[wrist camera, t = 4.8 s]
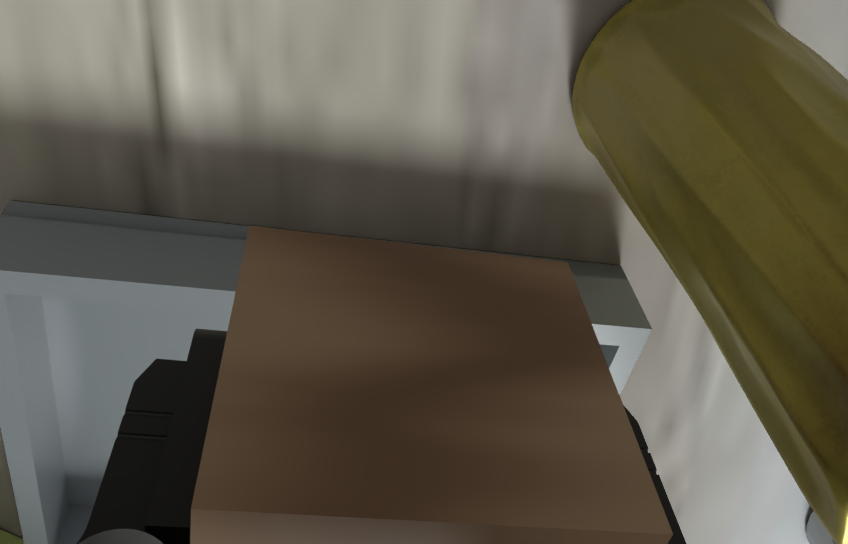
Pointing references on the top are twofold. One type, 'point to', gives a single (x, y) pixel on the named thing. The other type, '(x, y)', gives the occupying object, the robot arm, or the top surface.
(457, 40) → the top surface
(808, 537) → the robot arm
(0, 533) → the protein box
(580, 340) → the walnut cube
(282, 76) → the top surface
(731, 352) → the vase
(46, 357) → the tray
